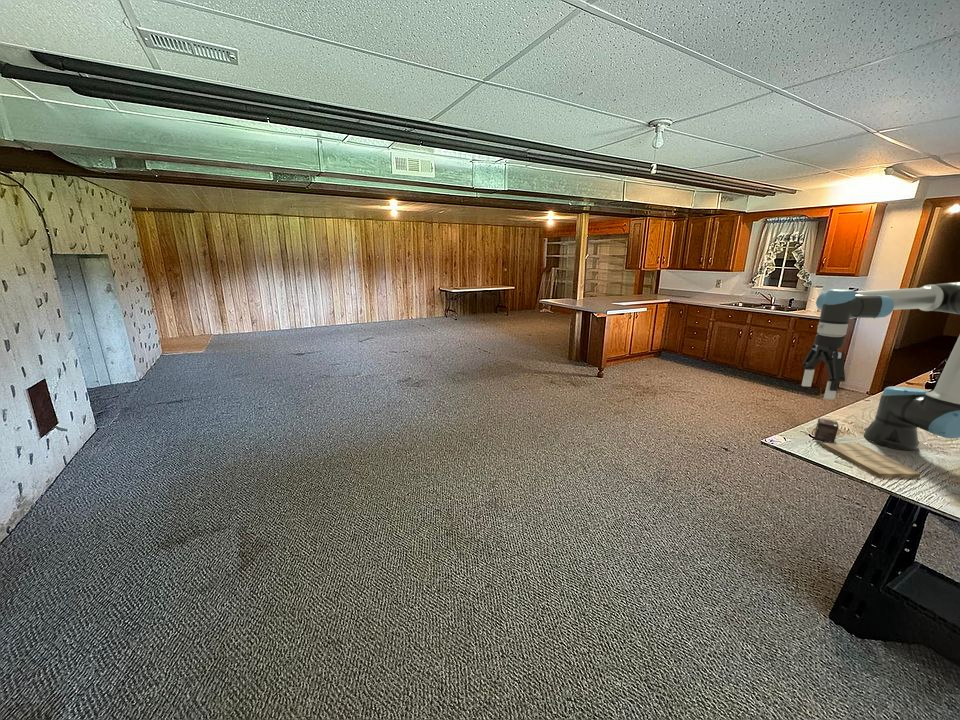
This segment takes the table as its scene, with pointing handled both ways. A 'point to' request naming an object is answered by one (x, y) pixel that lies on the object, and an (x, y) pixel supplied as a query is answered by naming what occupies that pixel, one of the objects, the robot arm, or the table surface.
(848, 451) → the oak board
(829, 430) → the box
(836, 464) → the table surface
